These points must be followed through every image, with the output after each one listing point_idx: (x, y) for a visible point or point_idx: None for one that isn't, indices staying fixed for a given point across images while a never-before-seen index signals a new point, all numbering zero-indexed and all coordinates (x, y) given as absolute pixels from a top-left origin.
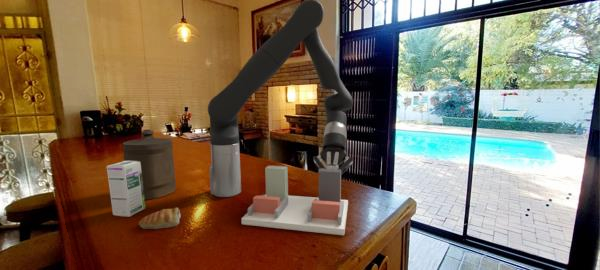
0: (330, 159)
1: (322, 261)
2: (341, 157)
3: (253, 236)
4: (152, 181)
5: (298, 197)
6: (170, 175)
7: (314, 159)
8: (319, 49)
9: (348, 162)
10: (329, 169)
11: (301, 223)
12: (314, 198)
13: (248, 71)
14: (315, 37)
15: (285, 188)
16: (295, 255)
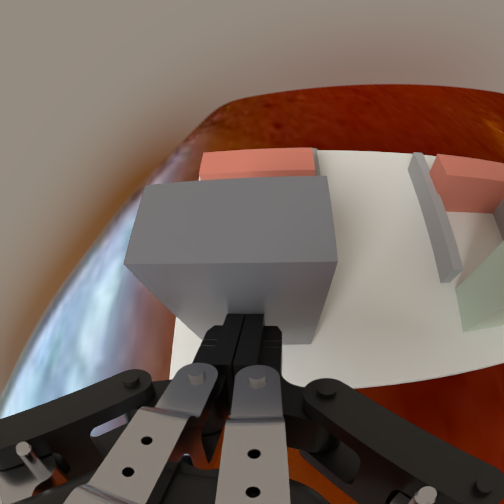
0: (222, 477)
1: (252, 100)
2: (58, 494)
3: (416, 134)
4: None
5: (427, 361)
6: None
7: (475, 459)
8: None
9: (28, 418)
10: (234, 239)
11: (329, 156)
12: (347, 372)
13: None
14: None
15: (486, 266)
16: (304, 102)
